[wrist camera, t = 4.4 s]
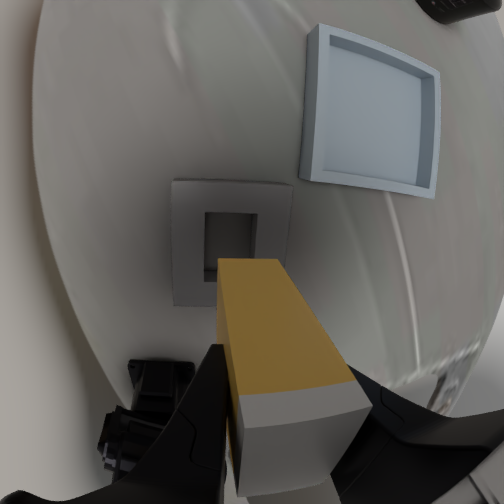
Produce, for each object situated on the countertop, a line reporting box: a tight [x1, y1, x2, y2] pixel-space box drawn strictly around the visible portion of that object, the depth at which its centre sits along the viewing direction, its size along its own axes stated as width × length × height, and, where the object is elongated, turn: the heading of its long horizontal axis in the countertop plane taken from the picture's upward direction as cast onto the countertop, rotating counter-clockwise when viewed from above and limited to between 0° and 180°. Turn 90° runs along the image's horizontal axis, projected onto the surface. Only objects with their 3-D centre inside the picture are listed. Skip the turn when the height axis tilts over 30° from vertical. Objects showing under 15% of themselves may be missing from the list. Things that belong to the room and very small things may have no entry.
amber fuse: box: [217, 258, 373, 497], centre depth 9 cm, size 4×2×8 cm, turn 176°
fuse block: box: [171, 179, 293, 306], centre depth 20 cm, size 9×8×2 cm
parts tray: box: [298, 23, 441, 199], centre depth 18 cm, size 12×12×2 cm
